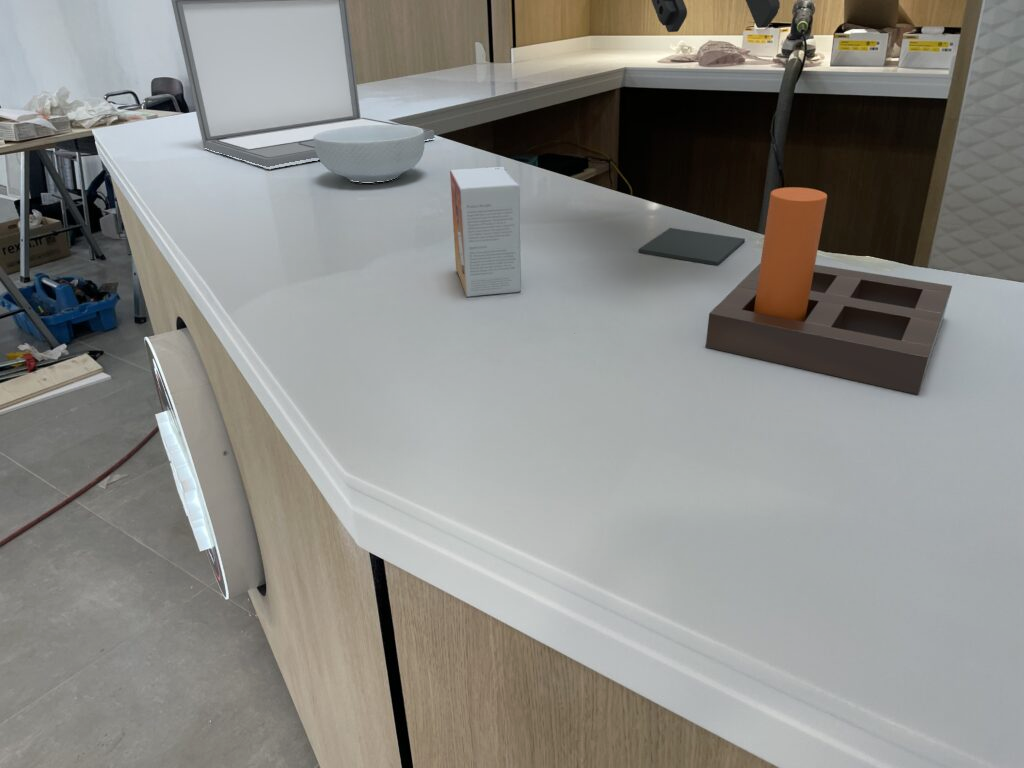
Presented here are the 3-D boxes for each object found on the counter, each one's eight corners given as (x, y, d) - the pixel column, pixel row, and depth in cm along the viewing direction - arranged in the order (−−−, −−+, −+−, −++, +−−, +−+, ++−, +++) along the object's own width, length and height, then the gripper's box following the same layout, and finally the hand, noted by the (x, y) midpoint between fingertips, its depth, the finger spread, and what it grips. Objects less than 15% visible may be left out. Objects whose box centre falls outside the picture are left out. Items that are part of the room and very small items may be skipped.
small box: (455, 270, 77) (448, 168, 72) (507, 265, 78) (504, 165, 73) (465, 298, 70) (458, 187, 65) (522, 292, 71) (519, 183, 66)
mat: (669, 231, 87) (670, 227, 87) (744, 242, 83) (745, 238, 83) (638, 252, 81) (638, 248, 80) (717, 265, 76) (718, 261, 76)
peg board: (762, 286, 71) (766, 256, 69) (943, 318, 63) (952, 285, 62) (705, 347, 59) (709, 313, 58) (918, 395, 52) (928, 357, 50)
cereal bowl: (447, 171, 119) (444, 125, 115) (386, 195, 106) (380, 145, 102) (364, 163, 126) (358, 120, 122) (297, 185, 113) (289, 137, 109)
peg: (758, 325, 63) (779, 184, 57) (806, 335, 61) (832, 190, 55) (743, 342, 60) (764, 196, 54) (793, 353, 58) (820, 202, 52)
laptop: (268, 170, 122) (236, -5, 110) (203, 149, 141) (169, -3, 128) (434, 140, 143) (423, -11, 130) (359, 125, 161) (343, -9, 148)
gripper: (603, -178, 57) (667, -13, 53) (755, -171, 62) (825, -18, 58) (574, -91, 64) (628, 60, 60) (713, -91, 69) (772, 51, 64)
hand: (724, 22), depth 59 cm, fingers open, 8 cm apart
